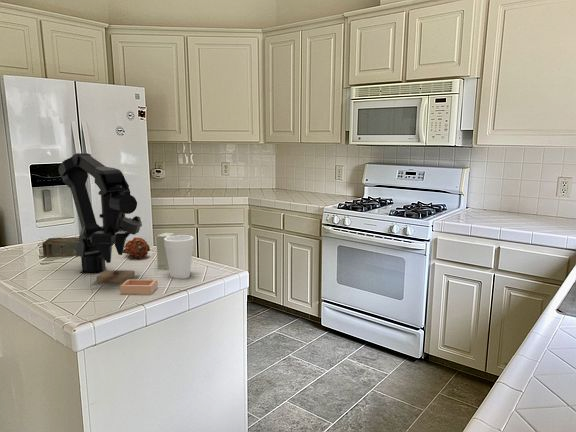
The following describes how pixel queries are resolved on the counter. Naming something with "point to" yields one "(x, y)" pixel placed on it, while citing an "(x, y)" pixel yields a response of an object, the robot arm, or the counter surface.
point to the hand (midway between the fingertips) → (114, 258)
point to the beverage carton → (60, 247)
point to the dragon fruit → (136, 248)
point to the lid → (115, 276)
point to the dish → (138, 287)
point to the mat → (112, 283)
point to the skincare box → (162, 251)
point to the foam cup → (179, 255)
